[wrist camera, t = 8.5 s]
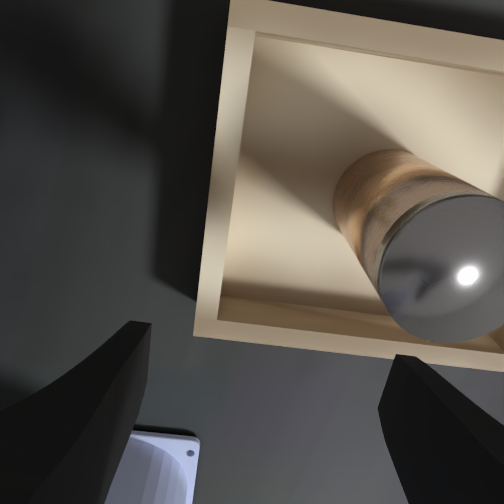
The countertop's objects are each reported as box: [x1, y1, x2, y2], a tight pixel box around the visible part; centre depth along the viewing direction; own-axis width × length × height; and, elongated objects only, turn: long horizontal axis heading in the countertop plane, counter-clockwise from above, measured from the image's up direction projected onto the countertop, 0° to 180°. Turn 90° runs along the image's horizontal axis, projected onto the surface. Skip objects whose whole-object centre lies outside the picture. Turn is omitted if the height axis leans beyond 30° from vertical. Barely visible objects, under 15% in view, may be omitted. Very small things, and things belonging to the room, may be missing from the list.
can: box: [333, 149, 504, 343], centre depth 17 cm, size 5×5×8 cm
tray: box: [193, 0, 504, 372], centre depth 20 cm, size 14×16×3 cm
